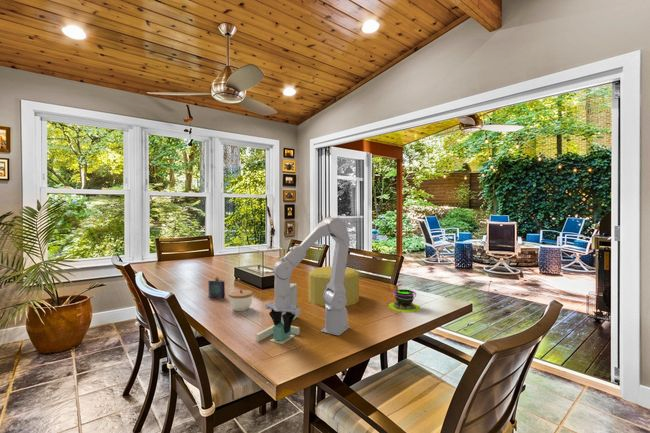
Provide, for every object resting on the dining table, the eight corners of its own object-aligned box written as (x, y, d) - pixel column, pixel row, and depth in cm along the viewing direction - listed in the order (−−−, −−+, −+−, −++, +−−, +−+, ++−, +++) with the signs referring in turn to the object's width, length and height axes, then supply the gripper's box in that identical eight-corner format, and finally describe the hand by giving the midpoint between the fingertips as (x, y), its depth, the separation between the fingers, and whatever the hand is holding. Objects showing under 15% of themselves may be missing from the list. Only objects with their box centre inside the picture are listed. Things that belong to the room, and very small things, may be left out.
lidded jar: (257, 307, 153) (257, 288, 153) (241, 314, 144) (241, 293, 143) (240, 304, 158) (240, 285, 158) (224, 310, 149) (223, 290, 149)
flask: (207, 297, 170) (207, 277, 170) (210, 295, 173) (210, 276, 173) (223, 298, 168) (223, 278, 168) (226, 297, 171) (226, 277, 170)
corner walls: (277, 328, 127) (277, 322, 127) (299, 333, 122) (299, 327, 122) (255, 340, 116) (255, 333, 116) (278, 347, 111) (278, 339, 111)
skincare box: (290, 323, 133) (290, 287, 132) (277, 322, 135) (277, 286, 134) (298, 316, 141) (298, 283, 140) (285, 315, 143) (285, 282, 142)
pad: (283, 333, 123) (283, 332, 123) (295, 336, 120) (295, 335, 120) (269, 340, 116) (269, 340, 116) (282, 344, 113) (281, 343, 113)
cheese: (343, 290, 185) (343, 264, 184) (368, 302, 161) (369, 273, 161) (301, 295, 174) (301, 268, 173) (321, 310, 150) (321, 278, 150)
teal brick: (283, 332, 121) (283, 321, 121) (291, 334, 120) (290, 322, 119) (273, 338, 116) (273, 326, 116) (281, 340, 114) (281, 328, 114)
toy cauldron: (394, 313, 146) (395, 289, 146) (383, 303, 161) (384, 281, 160) (426, 311, 148) (426, 287, 148) (412, 301, 163) (412, 280, 163)
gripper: (259, 294, 118) (260, 331, 118) (292, 300, 110) (292, 339, 111) (272, 289, 124) (272, 324, 124) (303, 295, 117) (303, 332, 117)
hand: (282, 331), depth 118 cm, fingers closed on teal brick, 3 cm apart
